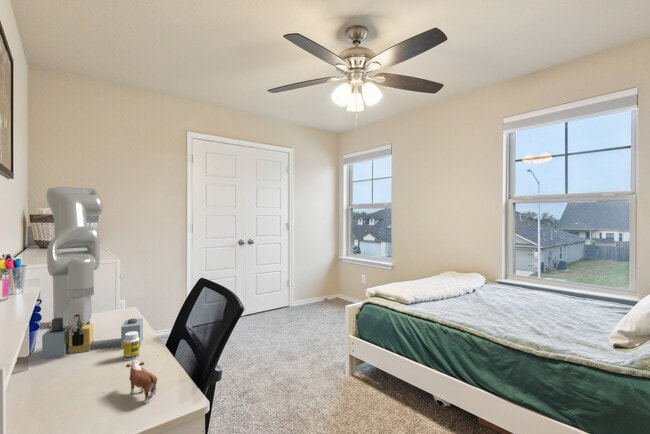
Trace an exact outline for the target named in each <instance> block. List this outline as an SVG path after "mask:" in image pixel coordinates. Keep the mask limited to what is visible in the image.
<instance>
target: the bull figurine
mask: <svg viewBox="0 0 650 434" xmlns="http://www.w3.org/2000/svg"><path fill="white" fill-rule="evenodd" d="M144 365H145V362H144V361H142V362H140V361H139V360H138V359H133V360H132V362H131V363H127V364H126V365H125V367H126V368H130V372H129V373H130V375H129V381H130V391H129V393H130V394H131V395H133V394H134V390H135V388H139V389H140V390H139V392H140V391H141V392H140V393H144V397H145V400H144V401H143V403H146V404H148V403H149V401H148V400H149V399H148V398H149V396H151V397H150V398H152V397H154V396H155V395H156V393H157V383H158V377H157V376H156V375H154V374H153V373H152V372H150V371H148V370H146V369H145V368H144V367H143V366H144ZM141 366H142V367H141ZM142 391H144V392H142ZM149 393H150V394H149Z"/></svg>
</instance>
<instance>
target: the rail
mask: <svg viewBox="0 0 650 434" xmlns="http://www.w3.org/2000/svg"><path fill="white" fill-rule="evenodd" d="M118 347H119V348H120V347H121V337H120V338H113V339H111V338H110V339H102V340H95V341H94V340H93V342H91V344H90V351H96V350H102V349H105V350H106V349H111V348H118ZM66 354H70V353H69V345H68V347H67V353H66Z"/></svg>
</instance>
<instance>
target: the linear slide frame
mask: <svg viewBox="0 0 650 434" xmlns="http://www.w3.org/2000/svg"><path fill="white" fill-rule="evenodd" d="M143 321H144V320H143V318H129V319H124V322H123V324H121V327H120V330H121V331H120V333H121V334H120V338H121V346H120V347H121V350H122V349H123V350H124V340H125V334H126V333H128V332H131V331H137V332H138V337H139V340H140V341H139V348H141V345H142V342H143V339H144V329H143V328H144V326H143V325H144V322H143ZM71 328H72V327H68V326H63V330H62V331H58V332H52V328H50V327H49V329H48V330H47V331H45V333H44V334H42V336H41V343H42V344H41V347H42V348H41V350H42V352H41V355H42V357H41V358H42V360H46V359H53V358H61V357H62V358H63V357H65V356H66V355H67V354H68V353H67V347H68V345H69V330H70V329H71Z"/></svg>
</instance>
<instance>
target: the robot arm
mask: <svg viewBox="0 0 650 434" xmlns="http://www.w3.org/2000/svg"><path fill="white" fill-rule="evenodd" d="M45 196H46V201H47V205H48V207H49V208H50V210H51V212H52V216H53V233H54V234H53V235H54V236H53V238H52V239H51V241H50V242H49V244H48V245H47V249H46V263H47V264H46V265H47V271H48V274H49V275H50V276H51V277H52V297H53V298H52V299H53V300H52V301H53V302H52V304H53V306H52V309H53V318H52V319H55V318H63V326H68V327H72V329H73V330H72V346H79V345H83V344H84V333H82V332H83V326H84V325H86V324H91V321H90V320H91V319H92V297H93V296H94V295H95V286H94V285H95V283H94V282H95V281H94V280H95V275H94V274H95V273H94V272H95V271H97V270H98V269H99V267H100V263H101V261H100V260H101V259H100V258H101V255H100V254H101V253H100V251H101V249H100V248H101V247H100V235H99V234H100V233H99V229H97V228H96V227H95V226H89V225H88V221H87V216H99V215H101V214H102V213H103V209H104V204H103V199H102V197H101V195H100V193H99V192H98V191H97V189H95V188H91V187H75V186H54V187H50V188H48V189H47V190H46V195H45ZM81 248H82V249H83V248H85V249H87V250H73V251H62V252H61V251H60V252H58V251H57V250H58V249H62V250H63V249H81ZM78 324H79V325H78ZM48 327H49V328H50V327H51V328H52V321H50V322H49V323H48ZM78 327H80V329H79V328H78Z"/></svg>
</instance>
